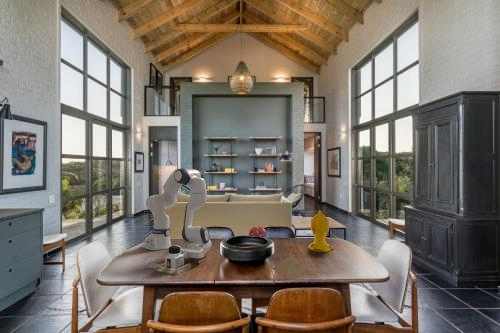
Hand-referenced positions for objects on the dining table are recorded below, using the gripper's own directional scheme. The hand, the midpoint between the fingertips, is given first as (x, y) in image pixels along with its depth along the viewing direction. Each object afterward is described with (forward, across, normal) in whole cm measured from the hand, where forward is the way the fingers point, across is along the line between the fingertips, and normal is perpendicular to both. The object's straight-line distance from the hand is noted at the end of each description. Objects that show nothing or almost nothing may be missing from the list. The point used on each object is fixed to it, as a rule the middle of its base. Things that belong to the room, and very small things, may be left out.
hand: (179, 255), depth 168 cm
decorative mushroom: (-64, +22, +7) cm, 68 cm away
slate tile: (+7, -13, +7) cm, 16 cm away
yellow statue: (-77, +67, +7) cm, 102 cm away
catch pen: (+4, 0, +6) cm, 7 cm away
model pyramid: (-22, +61, +7) cm, 65 cm away
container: (+4, 0, +7) cm, 8 cm away
